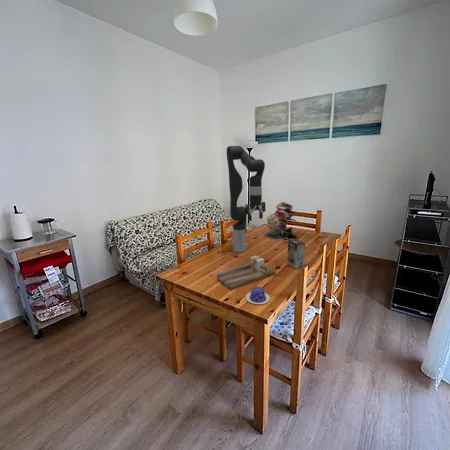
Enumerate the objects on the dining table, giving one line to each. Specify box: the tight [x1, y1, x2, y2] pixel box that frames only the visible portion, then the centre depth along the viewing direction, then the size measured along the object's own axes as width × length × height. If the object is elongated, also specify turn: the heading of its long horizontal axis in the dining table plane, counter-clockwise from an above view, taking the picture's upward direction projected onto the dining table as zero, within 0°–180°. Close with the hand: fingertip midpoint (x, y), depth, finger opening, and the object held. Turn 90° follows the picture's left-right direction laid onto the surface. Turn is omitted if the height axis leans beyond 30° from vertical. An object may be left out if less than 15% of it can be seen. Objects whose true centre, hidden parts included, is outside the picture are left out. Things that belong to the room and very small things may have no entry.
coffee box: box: [286, 239, 306, 269], centre depth 157 cm, size 9×6×16 cm
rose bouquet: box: [265, 201, 300, 241], centre depth 213 cm, size 26×29×30 cm
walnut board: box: [216, 263, 277, 291], centre depth 145 cm, size 14×32×4 cm, turn 122°
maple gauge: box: [250, 255, 267, 272], centre depth 148 cm, size 12×5×7 cm, turn 32°
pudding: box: [245, 286, 271, 305], centre depth 123 cm, size 12×12×5 cm
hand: (255, 219), depth 154 cm, fingers open, 8 cm apart
